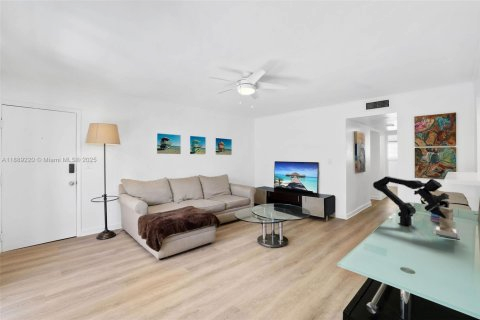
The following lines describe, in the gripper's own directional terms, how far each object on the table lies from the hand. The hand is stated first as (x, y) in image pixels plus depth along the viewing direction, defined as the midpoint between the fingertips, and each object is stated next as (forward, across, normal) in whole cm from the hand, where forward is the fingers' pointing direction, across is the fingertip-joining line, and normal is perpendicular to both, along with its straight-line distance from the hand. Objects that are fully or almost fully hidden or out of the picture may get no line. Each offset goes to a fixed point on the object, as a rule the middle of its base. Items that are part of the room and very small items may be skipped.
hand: (449, 217), depth 133 cm
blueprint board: (+6, +6, +11) cm, 14 cm away
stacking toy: (-4, +30, +21) cm, 37 cm away
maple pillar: (+5, 0, +6) cm, 8 cm away
